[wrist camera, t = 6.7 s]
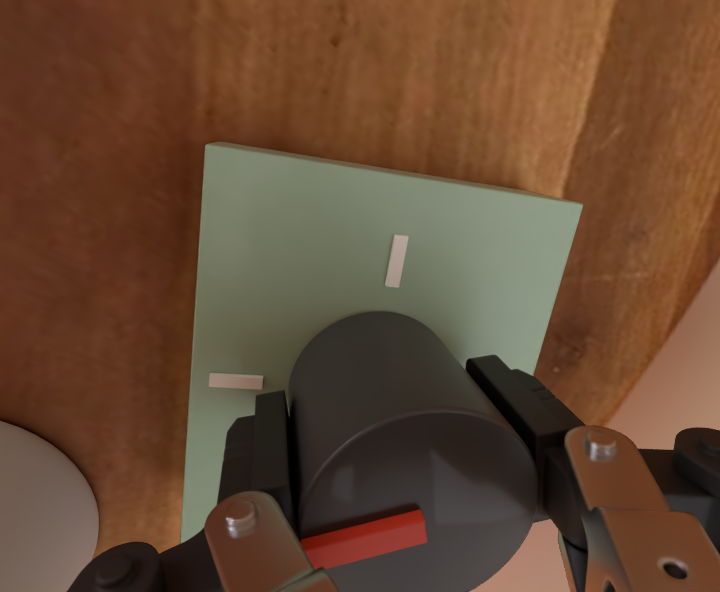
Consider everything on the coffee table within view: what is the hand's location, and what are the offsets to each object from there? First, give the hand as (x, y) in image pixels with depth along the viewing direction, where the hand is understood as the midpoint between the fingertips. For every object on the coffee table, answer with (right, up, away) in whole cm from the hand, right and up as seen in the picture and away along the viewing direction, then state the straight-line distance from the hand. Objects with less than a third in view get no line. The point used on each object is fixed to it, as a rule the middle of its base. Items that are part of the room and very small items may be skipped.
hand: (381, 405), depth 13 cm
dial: (0, 0, +1) cm, 1 cm away
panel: (-1, +1, +4) cm, 4 cm away
